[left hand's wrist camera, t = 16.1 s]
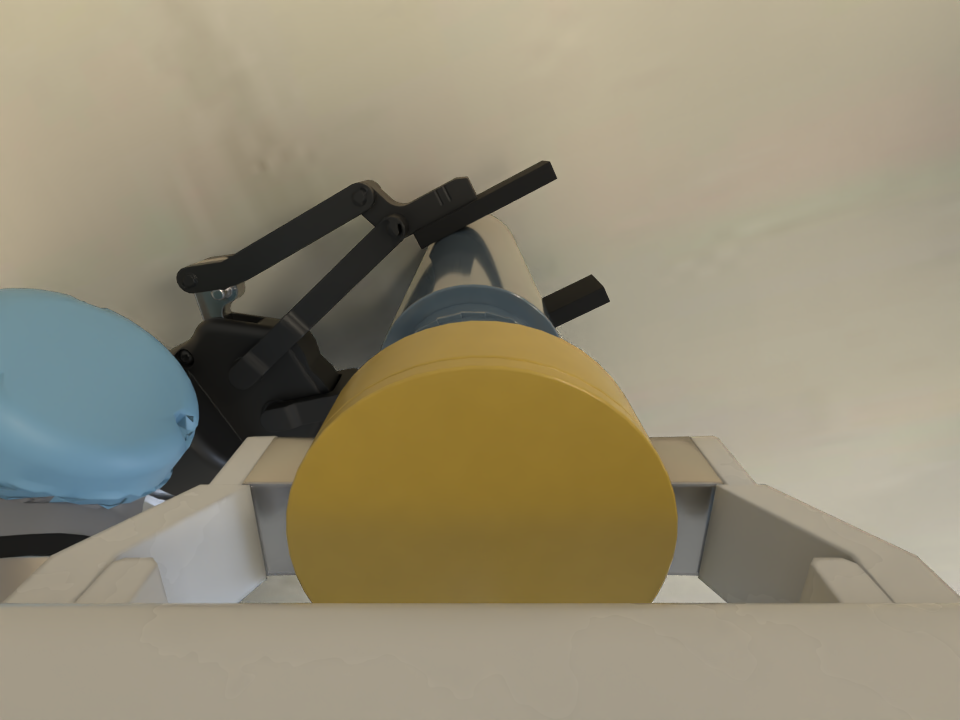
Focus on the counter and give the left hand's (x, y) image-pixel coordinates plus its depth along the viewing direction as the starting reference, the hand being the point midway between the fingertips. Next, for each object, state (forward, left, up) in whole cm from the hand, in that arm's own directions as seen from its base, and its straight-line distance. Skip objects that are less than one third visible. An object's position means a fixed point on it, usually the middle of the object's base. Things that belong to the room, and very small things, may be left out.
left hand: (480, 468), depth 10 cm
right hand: (-2, +4, -16) cm, 17 cm away
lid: (0, 0, +2) cm, 2 cm away
